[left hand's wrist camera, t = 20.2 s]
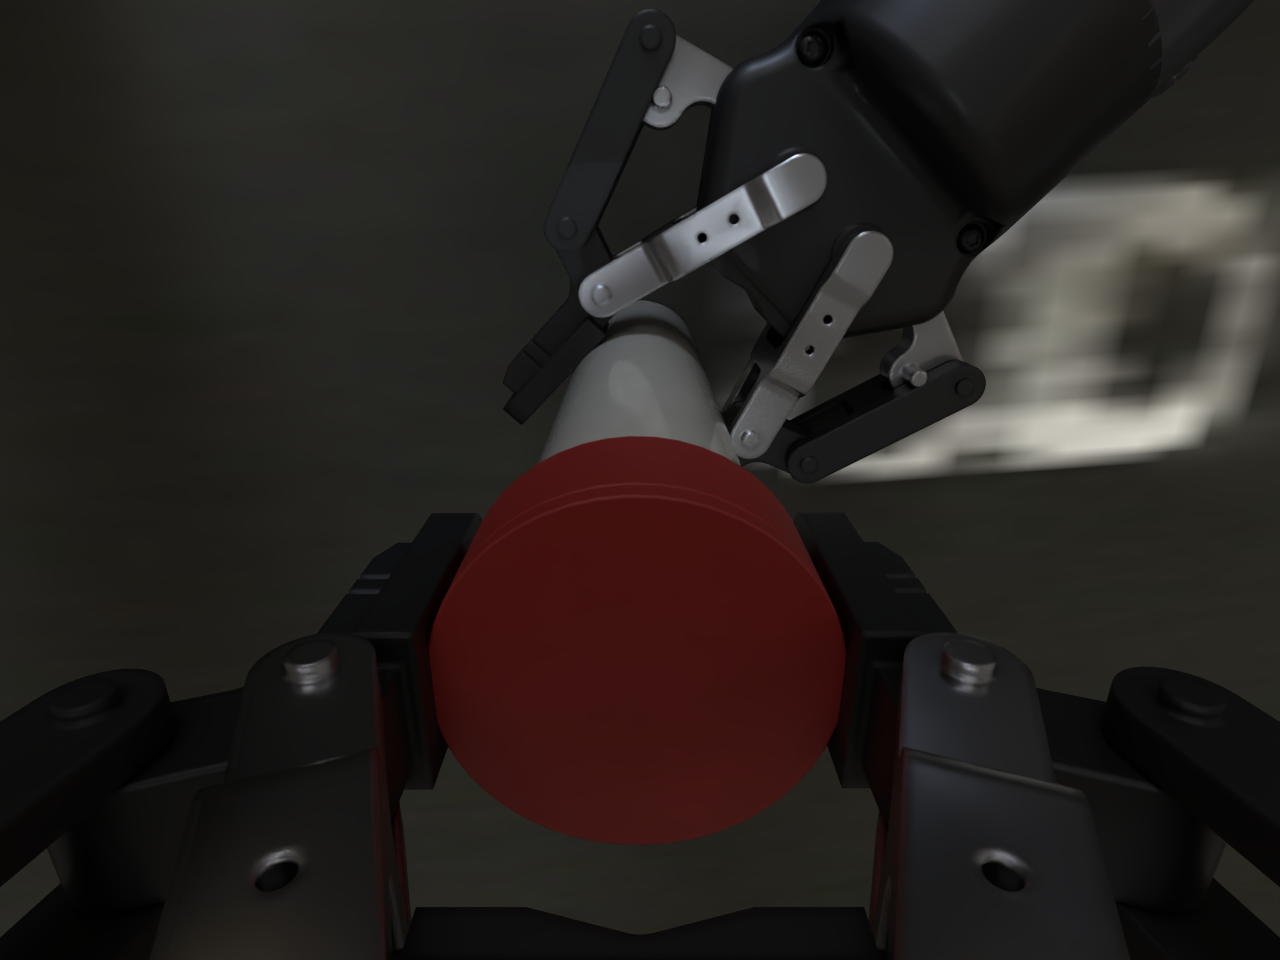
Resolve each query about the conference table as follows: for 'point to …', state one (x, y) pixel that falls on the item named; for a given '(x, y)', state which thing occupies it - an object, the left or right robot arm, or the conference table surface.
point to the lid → (637, 646)
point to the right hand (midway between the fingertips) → (577, 460)
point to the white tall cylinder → (641, 387)
